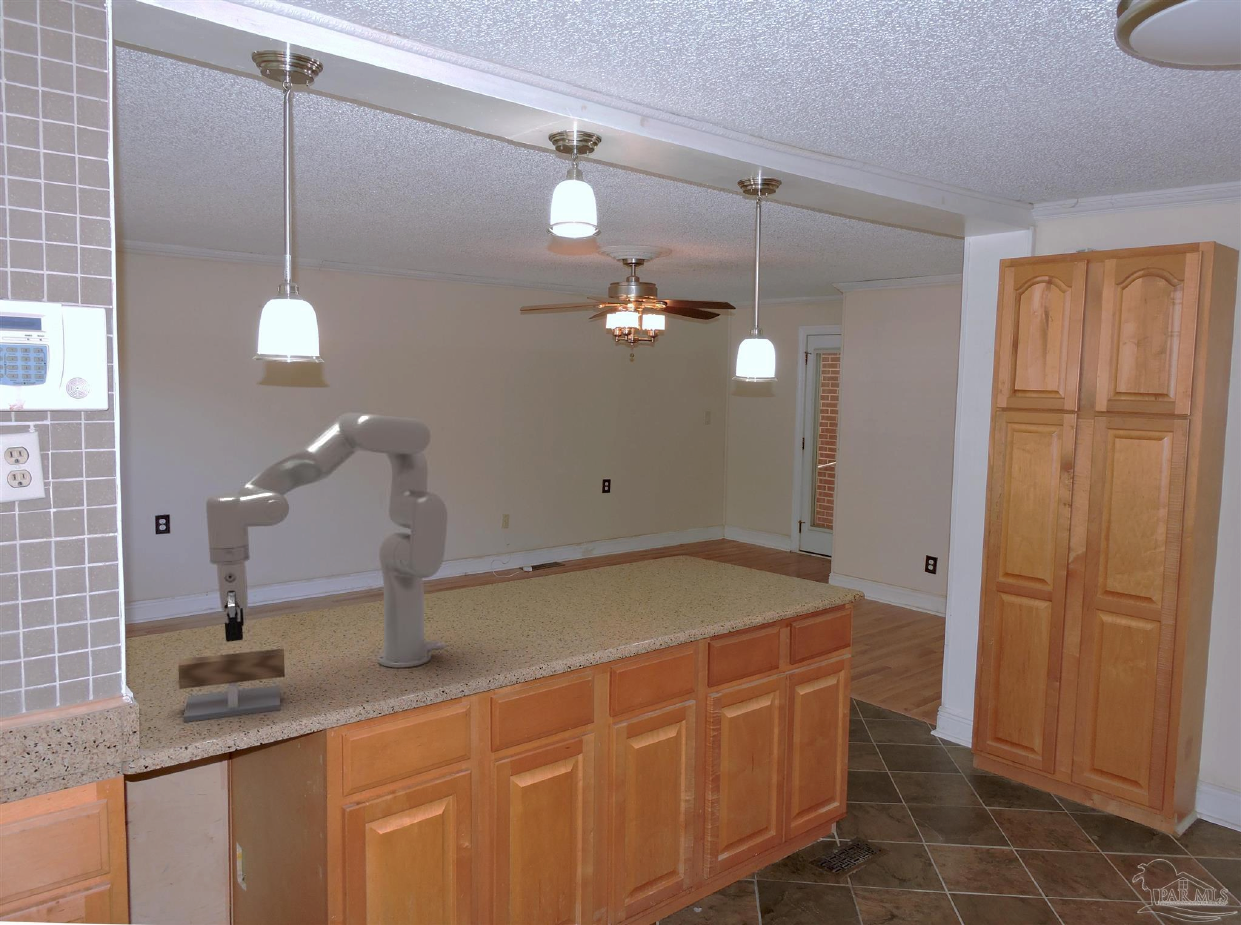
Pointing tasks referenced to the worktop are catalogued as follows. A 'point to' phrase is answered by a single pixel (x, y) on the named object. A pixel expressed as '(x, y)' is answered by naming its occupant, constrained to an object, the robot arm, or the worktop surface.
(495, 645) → the worktop surface
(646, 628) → the worktop surface
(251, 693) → the fulcrum board
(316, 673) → the worktop surface
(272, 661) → the beam
